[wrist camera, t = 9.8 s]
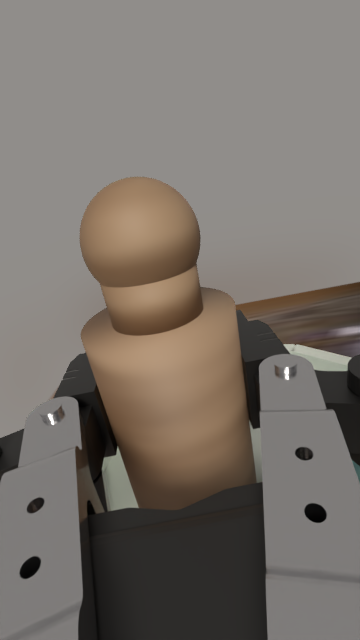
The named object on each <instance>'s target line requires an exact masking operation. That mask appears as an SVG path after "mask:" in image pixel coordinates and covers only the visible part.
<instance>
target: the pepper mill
mask: <svg viewBox="0 0 360 640" xmlns="http://www.w3.org/2000/svg"><path fill="white" fill-rule="evenodd" d="M80 246H81V251H82V255H83V258H84V261H85V263H86V265H87V267H88V269H89V271H90V272H91V274H92V275H93V276H94V278H95V279H96V280H97V281H98V282H99V283H100V285H101V289H102V292H103V296H104V299H105V303H106V306H107V308H106V309H104V310H102V311H100V312H99V313H98V314H96V315H95V316H93V317H92V318H91V319H90V320H89V321H88V322H87V323H86V324H85V325H84V327H83V329H82V331H81V339H82V342H83V345H84V348H85V350H86V354H87V357H88V360H89V363H90V366H91V369H92V372H93V375H94V378H95V380H96V383H97V386H98V389H99V392H100V395H101V398H102V401H103V404H104V407H105V410H106V413H107V416H108V419H109V422H110V425H111V428H112V431H113V434H114V437H115V439H116V442H117V445H118V448H119V451H120V454H121V457H122V460H123V463H124V466H125V469H126V472H127V475H128V478H129V481H130V484H131V487H132V490H133V493H134V496H135V499H136V501H137V504H138V507H139V508H146V509H163V510H179V509H182V508H185V507H187V506H189V505H191V504H194V503H196V502H198V501H200V500H202V499H205V498H207V497H209V496H211V495H213V494H216V493H218V492H220V491H222V490H224V489H228V488H233V487H238V486H243V485H249V484H254V483H257V480H256V471H255V463H254V455H253V447H252V439H251V430H250V422H249V415H248V407H247V398H246V390H245V382H244V374H243V366H242V357H241V349H240V340H239V332H238V324H237V316H236V308H235V302H234V300H233V298H232V297H231V296H230V295H228V294H227V293H225V292H222V291H220V290H216V289H211V288H204V287H200V283H199V277H198V272H197V264H196V262H197V258H198V255H199V250H200V230H199V225H198V221H197V219H196V216H195V214H194V212H193V210H192V208H191V206H190V205H189V204H188V202H187V201H186V199H185V198H184V197H183V196H182V195H181V194H180V193H179V192H177V191H176V190H175V189H174V188H172V187H171V186H169V185H168V184H166V183H163V182H161V181H159V180H156V179H152V178H147V177H130V178H125V179H121V180H118V181H116V182H114V183H111V184H109V185H108V186H107V187H105V188H103V189H102V190H101V191H100V192H98V193H97V195H96V196H95V197H94V198H93V199H92V201H91V202H90V203H89V205H88V206H87V209H86V211H85V213H84V216H83V219H82V222H81V228H80Z"/></svg>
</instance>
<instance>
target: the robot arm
mask: <svg viewBox="0 0 360 640" xmlns="http://www.w3.org/2000/svg"><path fill="white" fill-rule="evenodd" d="M236 316H237V324H238V332H239V340H240V349H241V357H242V366H243V374H244V382H245V390H246V398H247V407H248V415H249V420H250V423H251V426H252V428H253V429H257V428H260V433H261V457H262V480H263V482H259V483H254V484H249V485H243V486H238V487H233V488H228V489H224V490H222V491H220V492H218V493H216V494H213V495H211V496H209V497H207V498H205V499H202V500H200V501H198V502H196V503H194V504H191V505H189V506H187V507H185V508H182V509H179V510H163V509H146V508H124V509H118V510H113V511H111V508H110V502H109V496H108V489H107V483H106V477H105V473H104V470H103V468H102V466H103V460H104V458H105V457H110V456H115V455H116V454H117V447H118V445H117V442H116V439H115V437H114V434H113V431H112V428H111V425H110V422H109V419H108V416H107V413H106V410H105V407H104V404H103V401H102V398H101V395H100V392H99V389H98V386H97V383H96V380H95V378H94V375H93V372H92V369H91V366H90V363H89V360H88V357H87V354H86V353H84V354H79V355H78V356H77V357H76V358H75V359H74V360H73V361H72V362H71V363H70V364H69V367H68V368H67V371H66V373H65V375H64V377H63V380H62V381H61V383H60V386H59V388H58V390H57V392H56V394H55V396H54V398H53V399H51V400H49V401H46V402H45V403H43V404H41V405H39V406H38V407H36V408H35V409H34V410H33V411H32V412H31V413H30V414H29V415H28V417H27V419H26V422H25V428H24V429H22V430H20V431H17V432H15V433H12V434H10V435H7V436H5V437H2V438H0V640H360V483H359V480H358V477H357V474H356V471H355V468H354V465H353V462H352V460H353V461H354V462H355V463H356V464H358V465H359V466H360V355H357V356H355V357H353V358H351V359H350V360H349V362H348V370H347V371H320V370H314V368H313V365H312V363H311V362H310V361H309V360H307V359H306V358H304V357H301V356H298V355H293V354H290V353H289V351H288V350H287V349H286V347H285V346H284V345H283V344H282V342H281V341H280V340H279V339H278V338H277V336H276V335H275V333H273V331H272V330H271V328H270V327H269V326H268V325H267V324H265V323H263V322H261V321H259V320H254V321H249V322H248V321H247V319H246V318H245V316H244V315H243V313H242V312H241V310H237V311H236Z"/></svg>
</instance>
